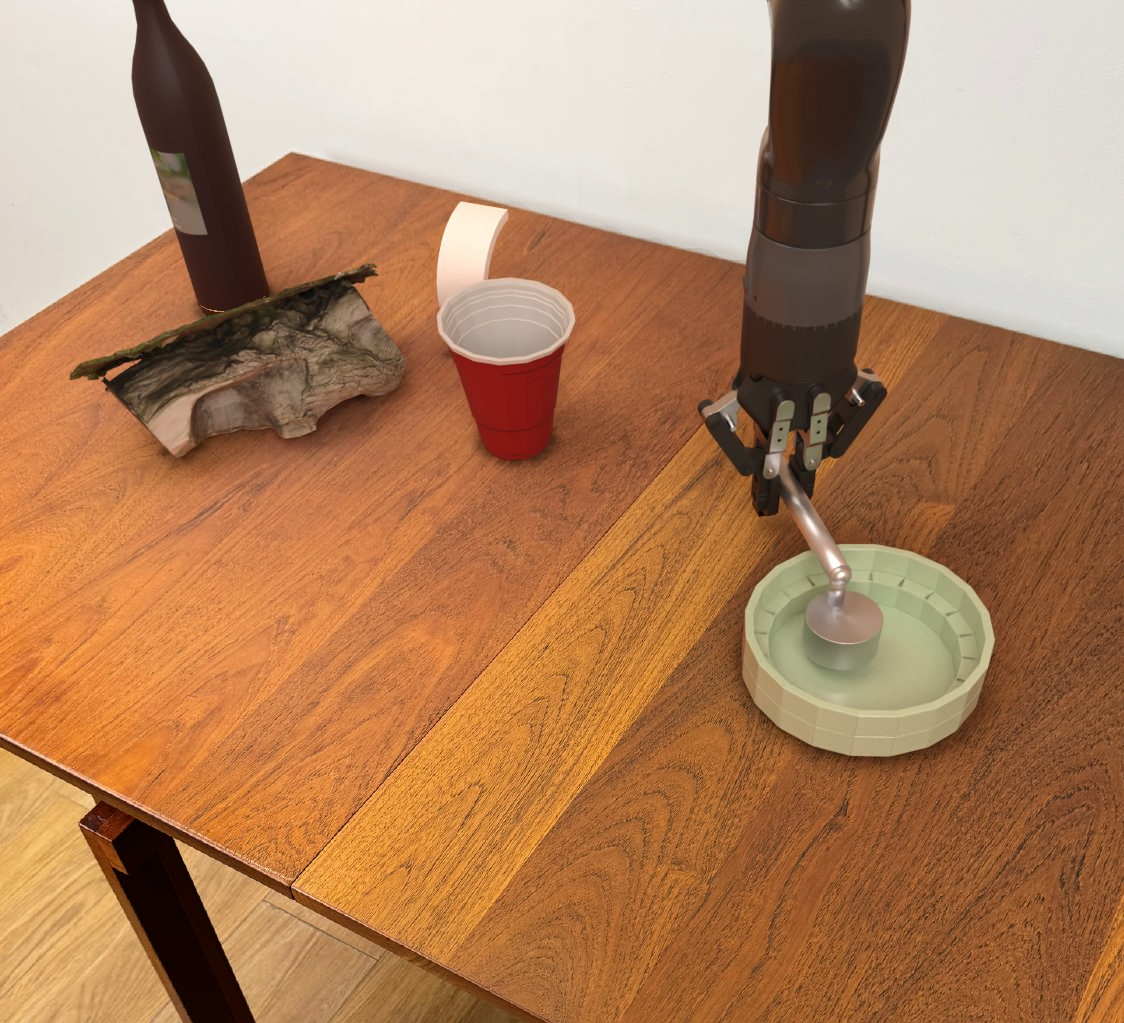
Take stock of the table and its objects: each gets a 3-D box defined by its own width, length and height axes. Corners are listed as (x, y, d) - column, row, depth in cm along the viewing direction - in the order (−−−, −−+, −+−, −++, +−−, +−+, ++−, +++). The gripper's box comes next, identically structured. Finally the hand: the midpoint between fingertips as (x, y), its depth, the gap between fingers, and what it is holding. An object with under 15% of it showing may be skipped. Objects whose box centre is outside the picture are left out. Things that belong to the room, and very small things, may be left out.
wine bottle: (202, 287, 122) (97, -53, 99) (272, 279, 122) (183, -62, 99) (196, 325, 118) (85, -22, 94) (269, 317, 118) (175, -32, 95)
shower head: (726, 504, 94) (731, 442, 89) (790, 491, 94) (797, 429, 90) (817, 677, 82) (827, 616, 77) (890, 661, 82) (904, 599, 78)
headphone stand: (519, 334, 113) (508, 209, 104) (490, 369, 110) (476, 243, 101) (476, 325, 115) (461, 201, 105) (446, 359, 111) (427, 234, 102)
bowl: (918, 571, 90) (929, 524, 87) (1022, 730, 80) (1038, 684, 76) (710, 616, 88) (713, 570, 85) (789, 785, 78) (796, 741, 75)
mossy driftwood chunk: (133, 516, 107) (115, 484, 92) (70, 379, 105) (42, 324, 91) (422, 408, 113) (448, 361, 99) (367, 277, 112) (385, 210, 97)
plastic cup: (510, 499, 98) (495, 370, 89) (429, 442, 104) (407, 314, 94) (608, 440, 102) (604, 311, 93) (526, 388, 108) (514, 261, 98)
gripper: (719, 340, 73) (708, 557, 86) (932, 300, 74) (888, 519, 88) (682, 278, 78) (677, 493, 91) (882, 241, 79) (848, 458, 92)
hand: (781, 505), depth 89 cm, fingers closed on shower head
